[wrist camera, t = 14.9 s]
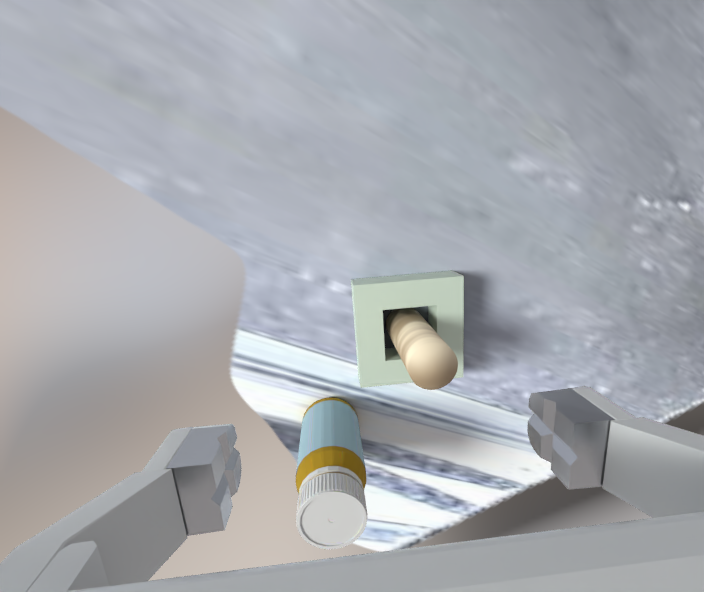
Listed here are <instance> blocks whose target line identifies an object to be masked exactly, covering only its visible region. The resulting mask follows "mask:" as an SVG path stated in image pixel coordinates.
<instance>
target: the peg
mask: <svg viewBox="0 0 704 592" xmlns="http://www.w3.org/2000/svg"><path fill="white" fill-rule="evenodd" d="M386 329H387V332H388V334H389V336H390V338H391V340H392V342H393V344H394V346H395V348H396V350H397V352H398V354H399V356H400V358H401V360H402V361H403V363H404V365H405V367H406V369H407V371H408V373H409V375H410V377H411V379H412V381H413V382H414V383H415V384H416V385H417V386H419V387H421V388H424V389H428V390H434V389H439V388H442V387H444V386H446V385H447V384H448V383H450V382H451V381H452V379H453V378H454V377H455V375H456V372H457V369H458V360H457V357H456V355H455V353H454V352H453V350H452V349H451V348H450V347H449V346H448V345H447V344H446V343H445V341H444V340H443V339H442V338H441V337H440V336H439V335H438V334H437V333H436V332H435V330H434V329H433V328H432V327H431V326H430V325H429V324H428V323H427V322H426V320H425V319H424V318H423V317H422V316H421V315H420V314H419V313H418V312H417V311H416V310H415V309H414V308H400V309H394V310H393V311H392V312H391V313H390V314H389V315H388V317H387V320H386Z"/></svg>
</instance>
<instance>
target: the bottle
mask: <svg viewBox="0 0 704 592" xmlns="http://www.w3.org/2000/svg"><path fill="white" fill-rule="evenodd" d="M365 484H366V470H365V463H364V456H363V450H362V443H361V436H360V429H359V423H358V418H357V414H356V412H355V410H354V408H353V407H352V406H351V405H350V404H349V403H347V402H346V401H344V400H342V399H338V398H324V399H321V400H318V401H316V402H314V403H313V404H312V405H311V406H310V407H309V408H308V409H307V410H306V412H305V414H304V417H303V422H302V429H301V437H300V446H299V454H298V463H297V471H296V486H297V490H298V493H299V497H298V504H297V515H296V524H297V529H298V531H299V533H300V535H301V536H302V538H303V539H304V540H305V541H306V542H308V543H309V544H311V545H313V546H315V547H318V548H322V549H337V548H342V547H345V546H347V545H349V544H351V543H353V542H354V541H355V540H357V539H358V538H359V537H360V535H361V534H362V533H363V531H364V529H365V527H366V523H367V509H366V501H365V495H364V488H365Z"/></svg>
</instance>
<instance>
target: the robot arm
mask: <svg viewBox="0 0 704 592" xmlns="http://www.w3.org/2000/svg"><path fill="white" fill-rule="evenodd" d="M529 408H530V410H531V411H532V412H533V415H532V417H531V418H530V419H529V421H528V436H529V439H530V443H531V445H532V447H533V449H534V450H535V452H536V453H537V454H538V455H539V456H540V457H541V458H543V459H545V460H547V461H549V462H551V470H552V471H553V473H554V474H555V475H556V476H557V477H558V478H559V479H560V480H561V481H562V483H563V484H564V485H565V486H566V487H567V488H568V489H577V488H589V487H601V486H603V489H605V490H607V491H608V492H610V493H612V494H613V495H615V496H617V497H619V498H620V499H622V500H624V501H625V502H627V503H629V504H631V505H632V506H634V507H635V508H637V509H639V510H641V511H642V512H644V513H646V514H647V515H649V516H651V517H652V518H649V519H642V520H633V521H625V522H617V523H609V524H600V525H592V526H585V527H576V528H569V529H560V530H552V531H544V532H537V533H528V534H520V535H513V536H505V537H497V538H488V539H481V540H472V541H465V542H457V543H449V544H441V545H434V546H425V547H417V548H409V549H401V550H393V551H385V552H377V553H370V554H361V555H353V556H345V557H338V558H329V559H321V560H313V561H305V562H296V563H289V564H280V565H272V566H264V567H256V568H248V569H240V570H233V571H224V572H217V573H209V574H201V575H192V576H184V577H176V578H168V579H161V580H152V581H148V580H149V579H150V578H151V577H152V576H153V575H154V574H155V572H156V571H157V570H158V569H159V568H160V567H161V566H162V565H163V564H164V563H165V562H166V561H167V560H168V558H169V557H170V556H171V555H172V554H173V553H174V552H175V551H176V550H177V549H178V548H179V547H180V545H181V544H182V543H183V542H184V541H185V540H186V539H187V536H189V535H196V534H203V533H210V532H216V531H223V530H225V527H226V525H227V522H228V518H229V516H230V513H231V509H232V501H231V497H232V496H233V495H234V494H235V493H236V492H237V490H238V487H239V484H240V477H241V458H240V453H239V452H238V451H237V450H236V449H235V448H234V445H235V442H236V439H237V435H236V431H235V427H234V426H233V425H232V424H224V425H212V426H201V427H188V428H179V429H174V430H172V431H171V432H170V433H169V435H168V436H167V437H166V439H165V440H164V441H163V443H162V444H161V446H160V447H159V448H158V450H157V451H156V453H155V454H154V455H153V457H152V458H151V459H150V461H149V462H148V464H147V465H146V467H145V468H144V469H143V471H142V472H137V473H134V474H132V475H131V476H129V477H127V478H126V479H125V480H123V481H121V482H119V483H118V484H116V485H115V486H113V487H112V488H110V489H108V490H107V491H105V492H103V493H102V494H100V495H99V496H97V497H96V498H94V499H92V500H91V501H89V502H88V503H86V504H84V505H83V506H81V507H80V508H78V509H77V510H75V511H73V512H72V513H70V514H69V515H67V516H65V517H64V518H62V519H60V520H59V521H57V522H56V523H54V524H52V525H51V526H49V527H48V528H46V529H44V530H43V531H41V532H40V533H38V534H37V535H35V536H33V537H32V538H30V539H29V540H27V541H25V542H24V543H22V544H21V545H19V546H17V547H16V548H15V549H14V550H13V551H12V552H11V553H10V554H9V555H8V556H7V557H6V558H5V559H4V560H3V561H2V562H1V564H0V592H704V436H702V435H699V434H696V433H693V432H689V431H686V430H683V429H679V428H676V427H673V426H670V425H666V424H663V423H660V422H657V421H653V420H650V419H647V418H644V417H639V418H636V417H635V416H633V415H632V414H630V413H629V412H627V411H626V410H624V409H623V408H621V407H620V406H618V405H617V404H615V403H614V402H612V401H610V400H609V399H607V398H606V397H604V396H603V395H601V394H600V393H598V392H597V391H595V390H594V389H592V388H591V387H586V386H582V387H575V388H568V389H561V390H554V391H546V392H538V393H532V394H531V396H530V398H529Z"/></svg>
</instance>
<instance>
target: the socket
mask: <svg viewBox="0 0 704 592" xmlns="http://www.w3.org/2000/svg"><path fill="white" fill-rule="evenodd" d="M351 287H352V300H353V313H354V326H355V339H356V352H357V366H358V376H359V381H360V386H361V388H362V387H372V386H382V385H392V384H402V383H411V382H413V381H412V379H411V377H410V375H409V373H408V371H407V369H406V367H405V365H404V363H403V361H402V360H401V358H400V356H399V354H398V352H397V350H396V348H386V349H385V345H384V326H383V310H389V309H400V308H411V307H422V306H428V324H429V325H430V326H431V327H432V328H433V329H434V330H435V332H436V333H437V334H438V335H439V336H440V337H441V338H442V339H443V340H444V341H445V343H446V344H447V345H448V346H449V347H450V348H451V349H452V350H453V352H454V353H455V355H456V357H457V360H458V369H457V372H456V375H455V377H454V378H460V377H463V328H464V276H463V275H461V274H459V273H456V272H454V271H441V272H430V273H418V274H407V275H395V276H384V277H372V278H360V279H351Z"/></svg>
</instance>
